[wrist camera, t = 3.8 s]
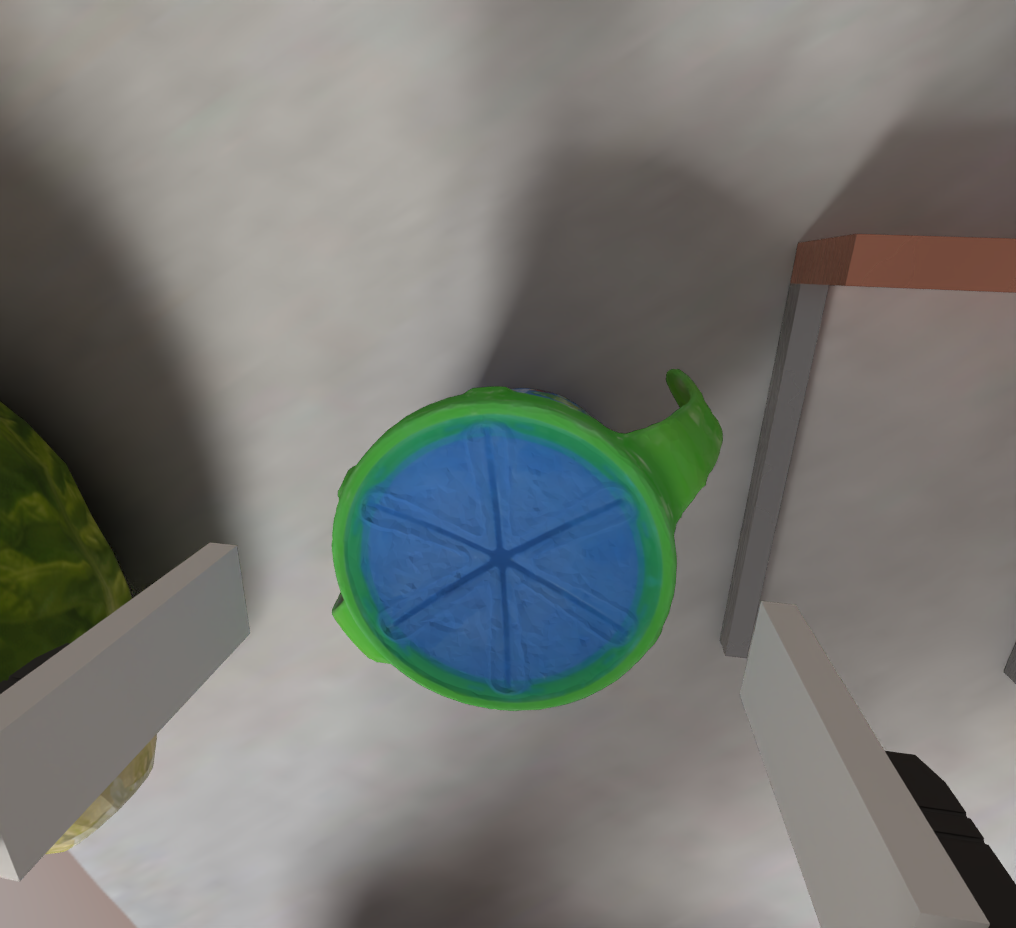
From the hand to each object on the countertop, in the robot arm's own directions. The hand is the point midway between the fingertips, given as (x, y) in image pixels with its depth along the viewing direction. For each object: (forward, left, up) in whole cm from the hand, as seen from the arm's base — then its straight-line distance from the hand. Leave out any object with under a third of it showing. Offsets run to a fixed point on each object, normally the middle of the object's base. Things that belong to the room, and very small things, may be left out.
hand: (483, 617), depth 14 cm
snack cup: (0, 0, -13) cm, 13 cm away
